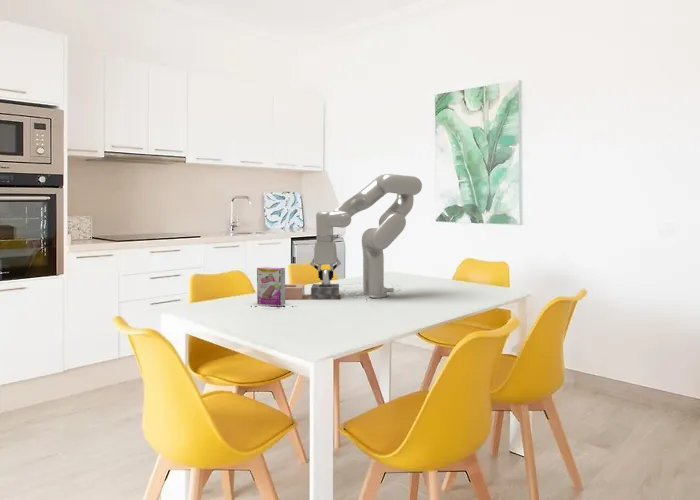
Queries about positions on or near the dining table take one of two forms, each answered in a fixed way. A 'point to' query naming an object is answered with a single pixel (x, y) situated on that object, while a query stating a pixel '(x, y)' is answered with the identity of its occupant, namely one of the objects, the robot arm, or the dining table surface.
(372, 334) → the dining table surface
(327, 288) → the mount board
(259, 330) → the dining table surface
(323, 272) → the pin
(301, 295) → the socket block
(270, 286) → the candy bar box
